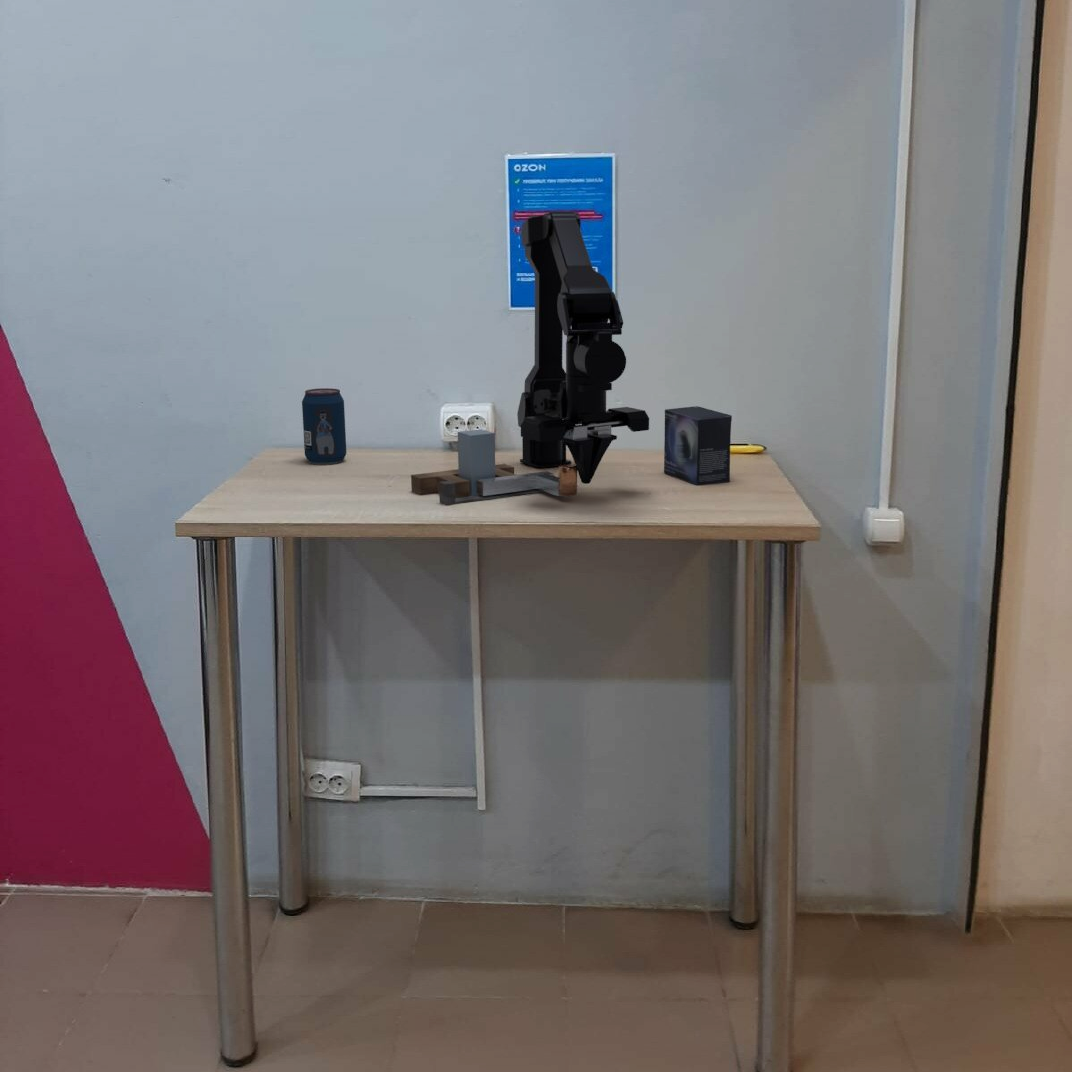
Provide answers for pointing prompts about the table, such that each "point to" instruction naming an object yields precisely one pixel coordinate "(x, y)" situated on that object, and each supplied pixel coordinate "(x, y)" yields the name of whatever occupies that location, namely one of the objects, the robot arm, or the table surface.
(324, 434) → the soda can
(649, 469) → the table surface
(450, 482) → the mount
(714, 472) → the small box
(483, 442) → the slate blue cuboid
